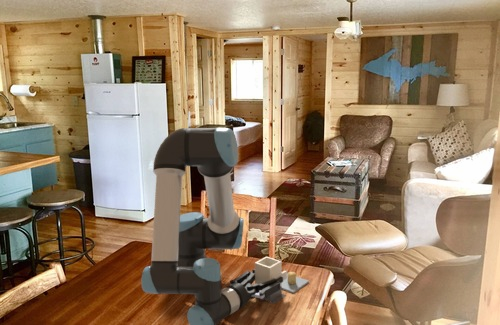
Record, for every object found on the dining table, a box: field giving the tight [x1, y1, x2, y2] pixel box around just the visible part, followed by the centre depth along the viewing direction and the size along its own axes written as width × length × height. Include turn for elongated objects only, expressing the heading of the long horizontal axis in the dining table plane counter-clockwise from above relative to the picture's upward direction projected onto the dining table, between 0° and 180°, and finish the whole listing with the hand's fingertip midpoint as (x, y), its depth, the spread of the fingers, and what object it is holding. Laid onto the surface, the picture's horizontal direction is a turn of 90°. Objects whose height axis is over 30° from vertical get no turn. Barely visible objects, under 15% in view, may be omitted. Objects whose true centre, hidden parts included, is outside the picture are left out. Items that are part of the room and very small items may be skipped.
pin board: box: [282, 270, 310, 294], centre depth 151 cm, size 18×10×5 cm, turn 50°
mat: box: [264, 293, 287, 305], centre depth 141 cm, size 10×7×1 cm
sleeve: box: [254, 255, 283, 303], centre depth 140 cm, size 6×6×12 cm
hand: (277, 271), depth 144 cm, fingers closed on sleeve, 6 cm apart
